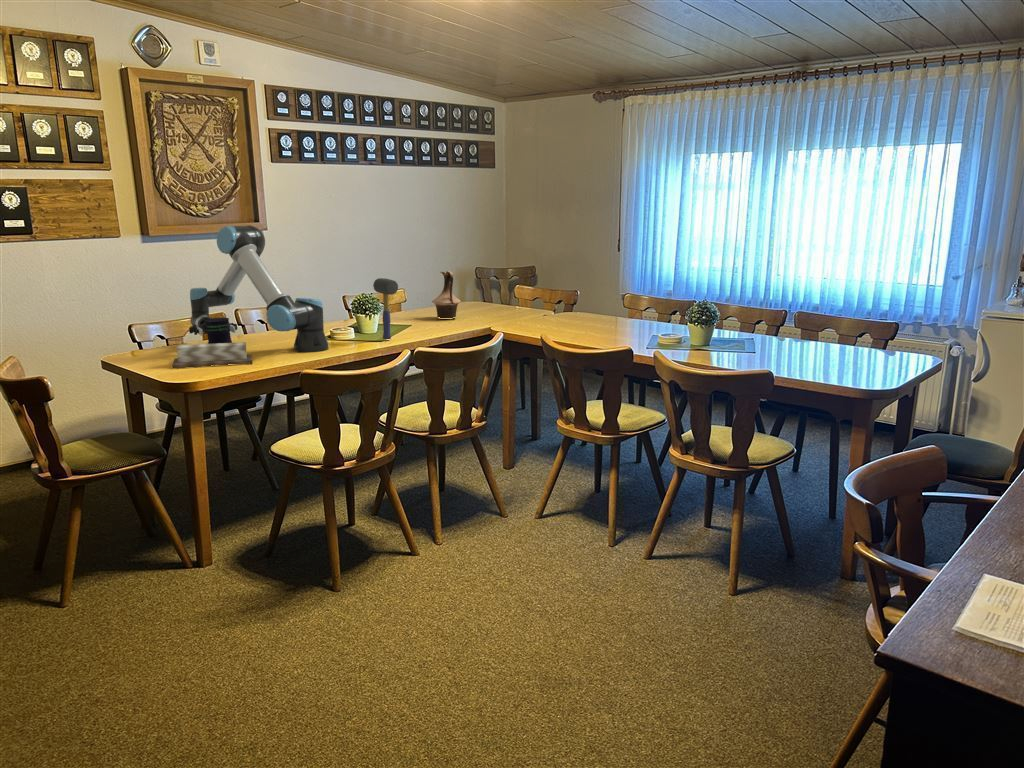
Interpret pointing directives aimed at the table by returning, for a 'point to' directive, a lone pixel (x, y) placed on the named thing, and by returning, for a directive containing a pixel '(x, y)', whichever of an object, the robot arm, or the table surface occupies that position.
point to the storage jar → (218, 330)
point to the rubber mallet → (386, 301)
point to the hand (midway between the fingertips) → (218, 331)
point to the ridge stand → (211, 355)
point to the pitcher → (446, 298)
